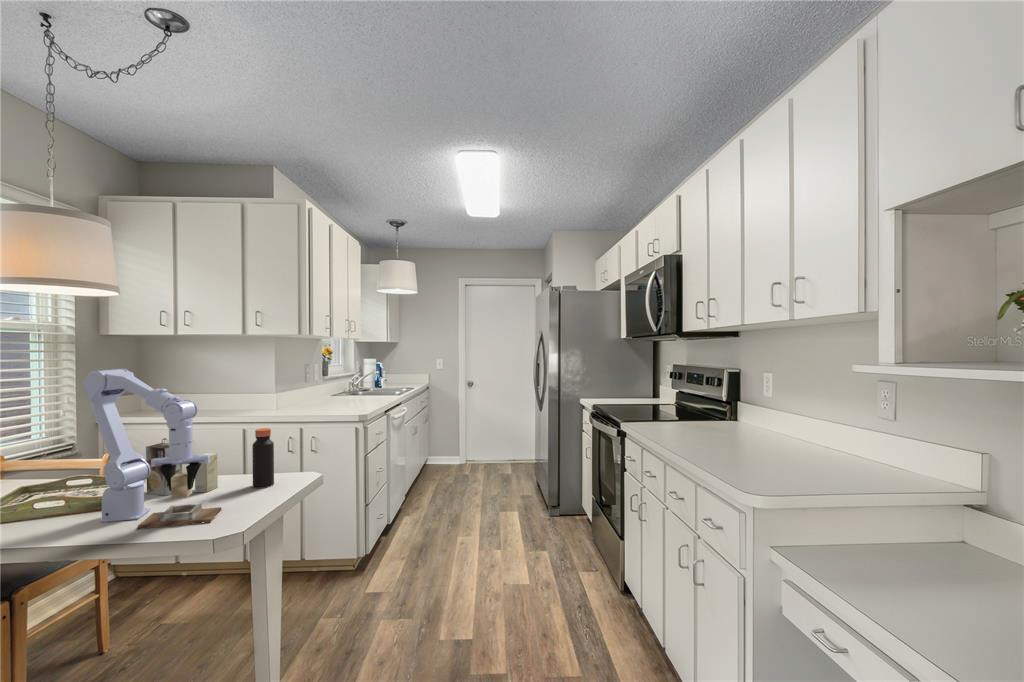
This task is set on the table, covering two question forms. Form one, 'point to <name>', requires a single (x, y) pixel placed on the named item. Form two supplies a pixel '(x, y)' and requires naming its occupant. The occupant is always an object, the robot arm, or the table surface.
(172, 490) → the peg
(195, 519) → the socket stand
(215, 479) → the skincare box
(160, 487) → the coffee box
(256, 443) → the bottle
